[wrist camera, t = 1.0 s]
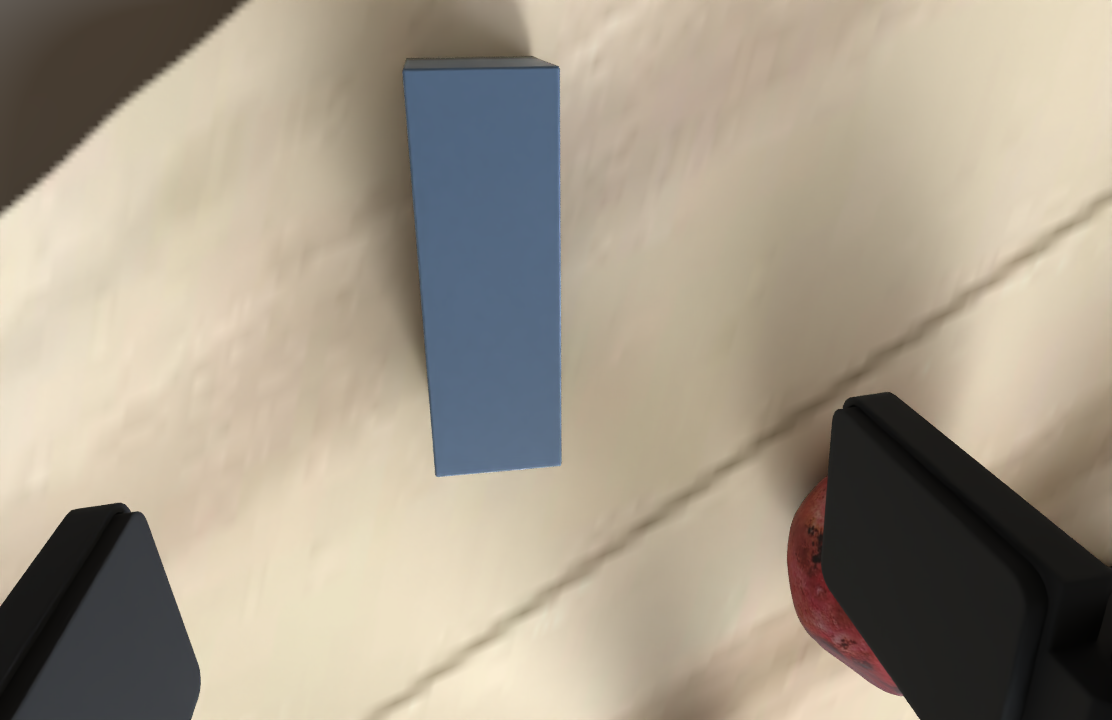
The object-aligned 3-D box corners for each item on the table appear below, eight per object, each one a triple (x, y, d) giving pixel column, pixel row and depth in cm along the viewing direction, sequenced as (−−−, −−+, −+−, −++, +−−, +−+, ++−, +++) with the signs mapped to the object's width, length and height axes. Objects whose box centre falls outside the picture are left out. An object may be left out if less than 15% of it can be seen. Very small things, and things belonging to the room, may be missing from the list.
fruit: (828, 629, 37) (959, 827, 28) (714, 516, 33) (823, 703, 24) (988, 509, 36) (1181, 678, 26) (888, 377, 32) (1074, 522, 23)
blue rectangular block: (539, 395, 30) (561, 466, 25) (433, 403, 29) (435, 478, 24) (533, 56, 25) (559, 66, 20) (405, 58, 24) (402, 68, 19)
